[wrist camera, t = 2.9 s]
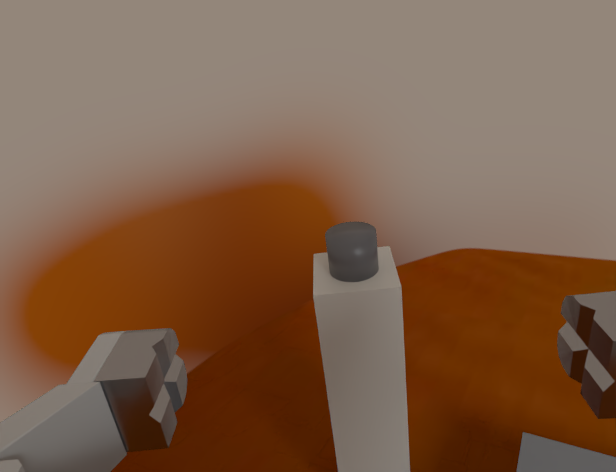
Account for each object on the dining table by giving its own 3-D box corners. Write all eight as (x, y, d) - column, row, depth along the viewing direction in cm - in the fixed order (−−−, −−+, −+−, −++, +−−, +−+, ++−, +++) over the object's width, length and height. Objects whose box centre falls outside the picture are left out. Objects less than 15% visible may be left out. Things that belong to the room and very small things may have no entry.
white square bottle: (340, 451, 32) (309, 219, 25) (400, 447, 32) (387, 211, 25) (343, 508, 29) (307, 257, 21) (411, 503, 28) (399, 247, 21)
